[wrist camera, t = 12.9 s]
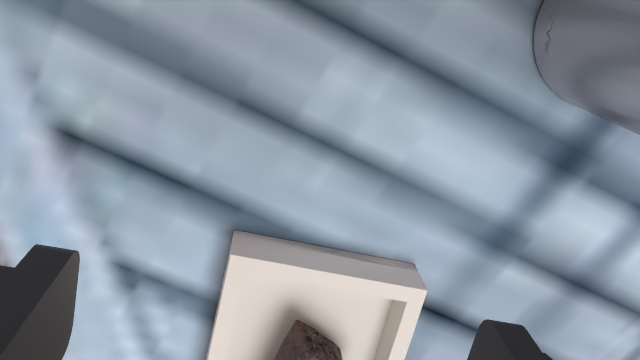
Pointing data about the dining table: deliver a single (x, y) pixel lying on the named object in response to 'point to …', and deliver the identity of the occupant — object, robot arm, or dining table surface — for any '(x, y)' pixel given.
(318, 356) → the perforated stone tool
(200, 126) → the dining table surface
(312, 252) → the tray
